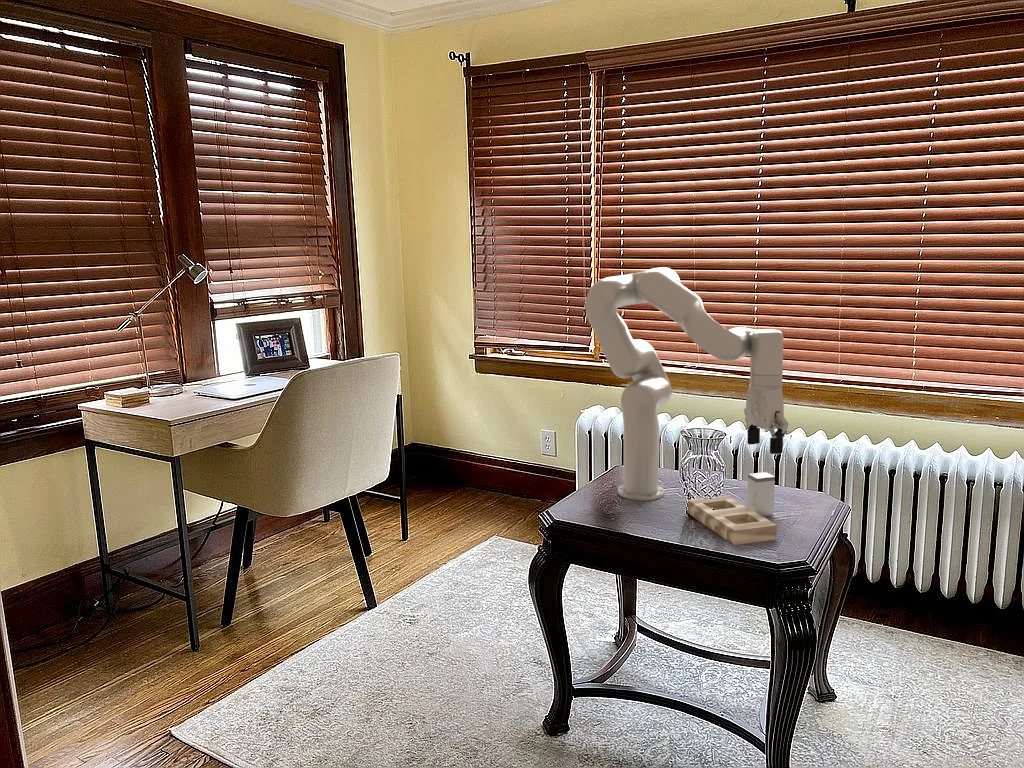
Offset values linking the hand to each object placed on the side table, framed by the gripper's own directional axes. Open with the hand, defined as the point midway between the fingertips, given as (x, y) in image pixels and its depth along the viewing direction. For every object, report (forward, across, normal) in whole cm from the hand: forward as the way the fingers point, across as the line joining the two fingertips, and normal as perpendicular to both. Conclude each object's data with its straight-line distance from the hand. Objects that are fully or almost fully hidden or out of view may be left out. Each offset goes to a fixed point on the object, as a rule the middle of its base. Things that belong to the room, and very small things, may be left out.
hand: (764, 448), depth 198 cm
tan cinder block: (+17, +4, -12) cm, 21 cm away
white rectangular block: (+17, -1, 0) cm, 17 cm away
